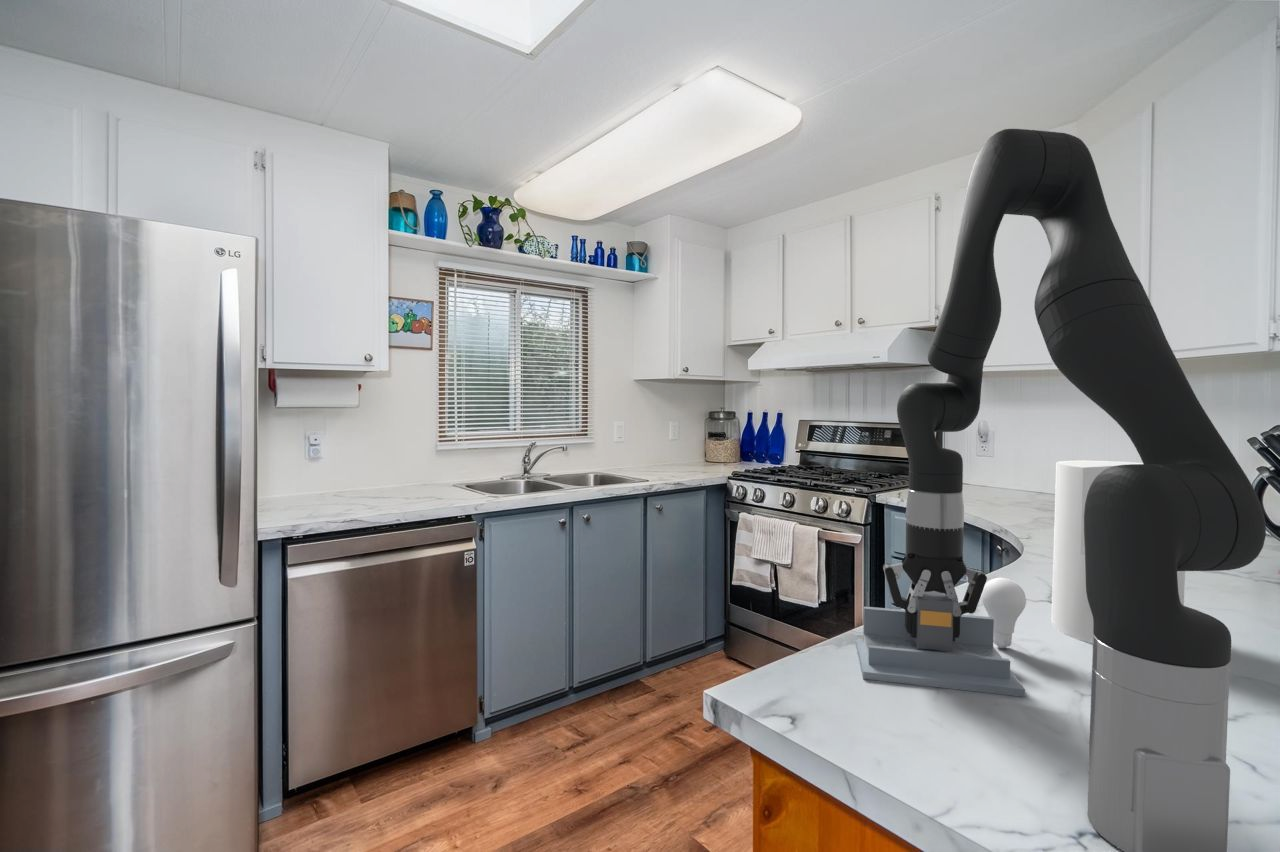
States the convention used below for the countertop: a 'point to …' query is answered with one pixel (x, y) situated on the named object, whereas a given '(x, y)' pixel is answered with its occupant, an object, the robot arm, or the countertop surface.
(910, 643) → the plate
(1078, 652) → the countertop surface
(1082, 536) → the cylinder
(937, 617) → the block
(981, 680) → the grey stepped stand
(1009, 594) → the lightbulb
